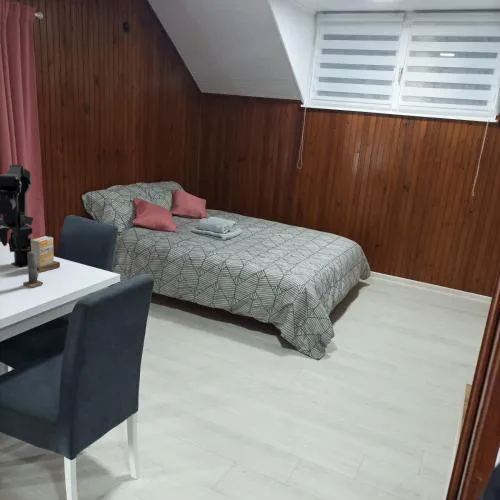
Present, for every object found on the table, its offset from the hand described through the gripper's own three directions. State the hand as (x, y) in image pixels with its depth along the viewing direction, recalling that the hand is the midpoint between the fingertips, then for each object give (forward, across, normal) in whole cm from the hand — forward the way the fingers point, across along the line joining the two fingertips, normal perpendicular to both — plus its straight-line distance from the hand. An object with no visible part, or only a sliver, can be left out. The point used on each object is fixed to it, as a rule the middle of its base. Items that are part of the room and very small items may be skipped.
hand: (12, 248), depth 183 cm
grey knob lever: (+13, -5, -10) cm, 17 cm away
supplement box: (+13, +4, -16) cm, 21 cm away
